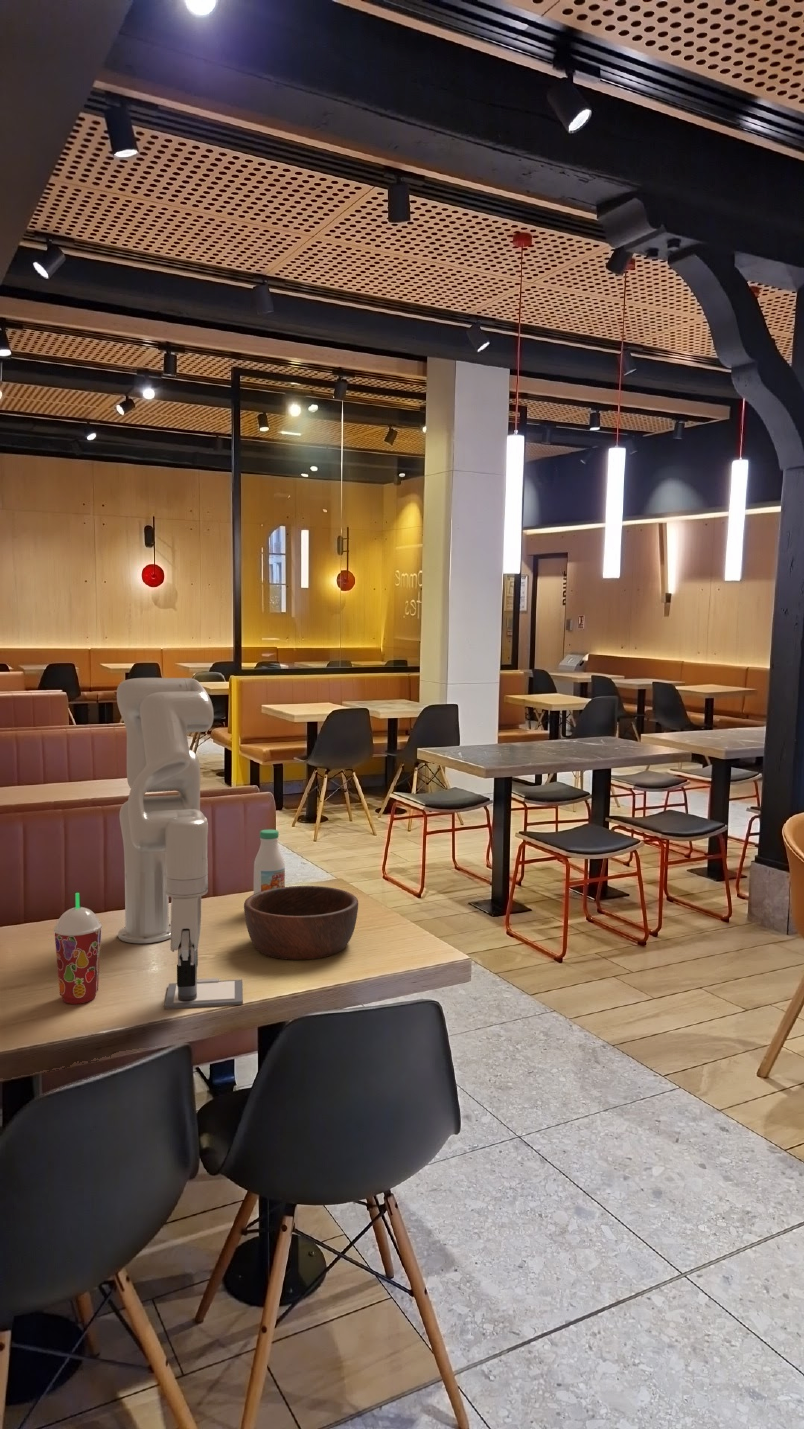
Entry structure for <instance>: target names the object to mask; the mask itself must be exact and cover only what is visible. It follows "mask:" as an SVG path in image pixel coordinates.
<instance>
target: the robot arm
mask: <svg viewBox="0 0 804 1429" xmlns="http://www.w3.org/2000/svg"><path fill="white" fill-rule="evenodd" d="M116 688H117V689H116V701H117V707H118V710H119V713H120V716H121V718H122V720H123V724H124V726H125V732H126V778H127V779H126V780H127V784H128V787H129V788H130V790H129V794H128V797H127V798H128V800H127V801H125V802H124V803H123V804H122V805H121V807H120V810H119V824H120V829H121V830H120V831H121V837H122V843H123V856H124V857H123V860H124V902H125V904H124V905H125V906H124V907H125V909H124V911H125V912H124V918H125V920H124V921H125V922H124V924H125V926H123V927H122V928H121V929H119V930H118V932H117V937H118V939H119V940H121V941H122V942H124V943H125V942H126V943H129V944H153V943H158V942H163V941H167V940H168V939H170V951H171V952H173V953H174V952H175V951H177V964H176V983H177V986H178V987H191V986H195V983H196V982H195V964H194V951H195V950H197V967H198V962H199V961H198V960H199V959H198V958H199V956H198V955H199V954H198V953H199V952H198V948H199V942H200V938H201V936H200V935H201V926H202V925H201V923H202V896H204V895H206V894H208V893H209V879H208V878H209V875H208V874H209V869H208V868H209V867H208V863H209V862H208V860H209V859H208V853H209V852H208V845H209V844H208V835H209V823H208V818H207V817H206V816H205V814H204V813H203V812H202V810H201V765H200V760H199V757H198V755H197V754H196V752H194V751H193V750H192V749H190V746H189V740H188V735H187V734H188V733H202V732H203V733H204V732H207V731H209V730H210V729H211V728H212V726H213V723H214V718H215V717H214V706H213V703H212V699H211V698H210V695H209V694H208V692H207V691H206V689H205V688H204V686H203V685H202V684H201V683H200V681H198V680H197V679H195V678H190V677H137V678H130V679H129V678H128V679H126V680H123V681H121V682H120V683H119V684H118V686H117V687H116ZM163 792H164V793H165V792H178V794H174V795H172V794H171V795H152V796H145V795H146V793H163ZM169 898H171V900H170V901H171V903H169V902H170V901H169ZM169 906H170V907H169ZM169 909H170V911H169ZM169 912H170V915H169ZM189 946H192V947H189ZM177 949H178V950H177ZM189 952H191V955H190V953H189Z"/></svg>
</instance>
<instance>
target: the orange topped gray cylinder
mask: <svg viewBox="0 0 804 1429" xmlns="http://www.w3.org/2000/svg"><path fill="white" fill-rule="evenodd" d="M189 947H192V946H189ZM176 951H178V949H177V950H176ZM189 953H190V955H191V952H189ZM194 964H195V982H196V983H195V986H191V987H178V1000H179V1001H183V1002H189V1001H193V1000H195V999H196V998H197V979H198V966H197V950H195V951H194Z"/></svg>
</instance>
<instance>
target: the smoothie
mask: <svg viewBox="0 0 804 1429" xmlns="http://www.w3.org/2000/svg"><path fill="white" fill-rule="evenodd" d="M102 926H103V925H102V922H100V920H99V918H98V916H97V915H96V914H95V912H93V911H92V910H91V909H90V908H88V907H83V906H80V892H76V893H75V907H72V908H69V909H67V910H66V911H65V912H63V913H62V915H60V917H59V918H58V921H57V922H56V924H55V926H54V927H53V932H54V941H55V942H54V943H55V953H56V965H57V976H58V977H57V978H58V987H59V988H58V989H59V995H60V996H61V998H62V1001H63V1002H64V1003H66V1004H69V1005H80V1004H86V1003H88V1002H90V1001H93V1000H94V999H95V998H96V996H97V994H96V993H98V991H99V983H100V980H99V979H100V962H101V961H100V960H101V959H100V958H101V942H102V940H101V939H102Z"/></svg>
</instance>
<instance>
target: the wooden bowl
mask: <svg viewBox="0 0 804 1429" xmlns="http://www.w3.org/2000/svg"><path fill="white" fill-rule="evenodd" d="M243 910H244V911H243V912H244V918H245V923H246V924H245V925H246V929H247V934H248V935H249V938H250V941H251V943H252V944H253V946H254V948H256V950H257V951H259V952H260V953H261V954H263V955H266V956H267V957H271V958H274V959H275V958H276V959H281V960H293V961H303V960H304V961H305V960H314V959H322V958H326V957H330V956H333V955H336V954H338V953H339V952H341V951H342V950H344V949H345V948H346V947H347V946H348V944H349V942H350V941H351V939H352V937H353V934H354V932H355V927H356V923H357V919H358V918H357V917H358V913H359V912H358V911H359V900H358V897H357V896H356V895H354V894H353V893H351V892H349V891H346V890H343V889H339V888H335V887H334V888H333V887H329V886H321V885H320V886H318V885H294V886H293V885H291V886H285V887H280V888H274V889H269V890H265V891H261V892H258V893H256V894H254V893H252V895H249V897H247V898H246V899H245V901H244V904H243Z"/></svg>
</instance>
